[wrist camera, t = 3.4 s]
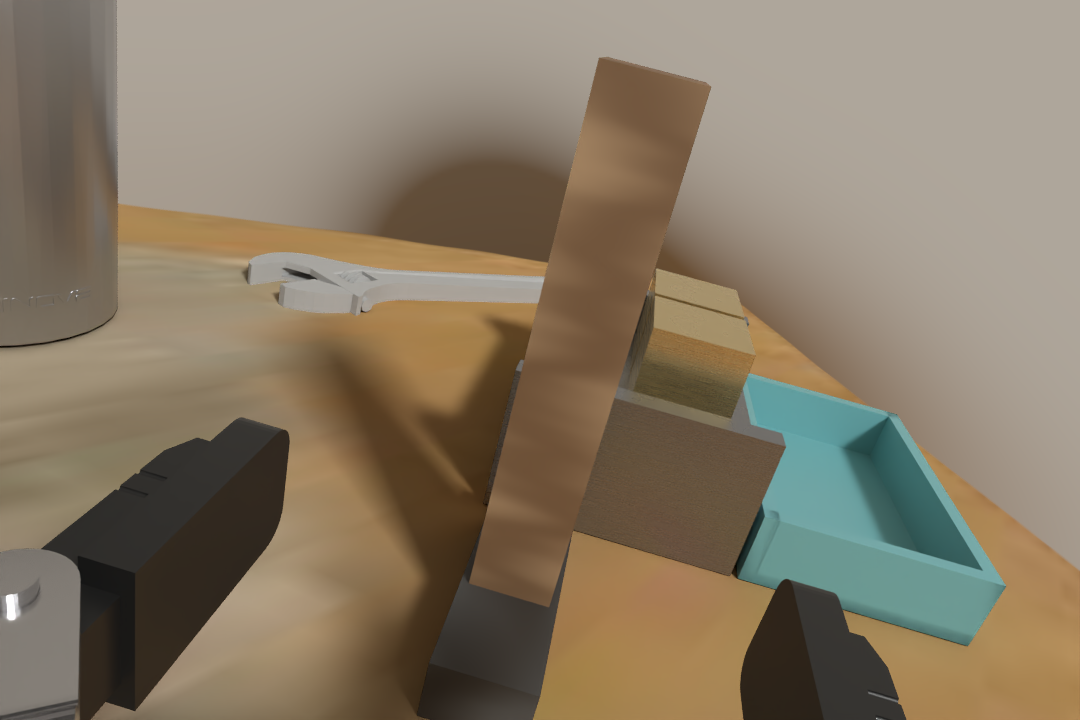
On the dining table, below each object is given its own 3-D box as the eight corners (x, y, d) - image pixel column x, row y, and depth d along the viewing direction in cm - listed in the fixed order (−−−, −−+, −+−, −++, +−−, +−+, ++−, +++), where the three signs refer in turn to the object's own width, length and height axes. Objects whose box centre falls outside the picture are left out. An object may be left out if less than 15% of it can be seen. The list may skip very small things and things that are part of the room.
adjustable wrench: (593, 297, 57) (599, 276, 56) (636, 334, 52) (643, 311, 51) (247, 273, 45) (249, 245, 44) (259, 318, 40) (261, 288, 39)
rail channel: (483, 503, 29) (515, 369, 27) (539, 365, 42) (564, 267, 39) (730, 576, 29) (786, 446, 26) (710, 414, 41) (746, 317, 39)
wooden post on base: (416, 715, 20) (569, 55, 13) (489, 522, 28) (607, 54, 21) (522, 748, 20) (735, 97, 13) (565, 544, 28) (708, 80, 21)
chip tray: (737, 578, 29) (764, 516, 27) (715, 415, 41) (733, 368, 40) (967, 646, 28) (1006, 586, 27) (873, 460, 41) (896, 414, 40)
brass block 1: (629, 373, 34) (655, 293, 32) (633, 341, 37) (656, 268, 36) (714, 397, 34) (744, 317, 32) (710, 363, 37) (736, 290, 36)
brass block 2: (624, 416, 30) (653, 327, 28) (629, 376, 33) (655, 295, 32) (721, 443, 30) (755, 355, 28) (715, 401, 33) (745, 320, 32)
